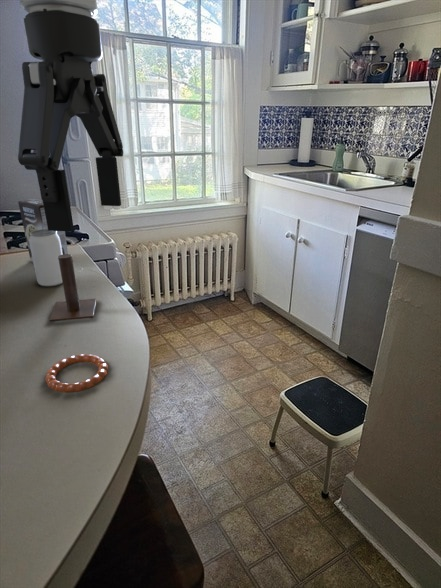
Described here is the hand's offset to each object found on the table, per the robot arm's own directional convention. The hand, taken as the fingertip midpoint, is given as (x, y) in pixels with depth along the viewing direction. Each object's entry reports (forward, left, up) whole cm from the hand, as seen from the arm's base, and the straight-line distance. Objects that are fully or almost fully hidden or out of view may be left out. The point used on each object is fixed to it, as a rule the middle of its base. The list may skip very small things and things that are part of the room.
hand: (89, 216), depth 50 cm
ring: (0, -5, -24) cm, 24 cm away
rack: (-22, -8, -24) cm, 34 cm away
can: (-40, -15, -24) cm, 49 cm away
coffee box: (-55, -18, -24) cm, 63 cm away
